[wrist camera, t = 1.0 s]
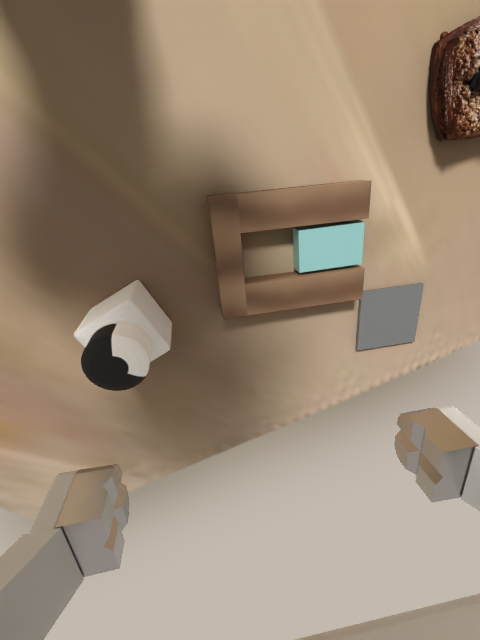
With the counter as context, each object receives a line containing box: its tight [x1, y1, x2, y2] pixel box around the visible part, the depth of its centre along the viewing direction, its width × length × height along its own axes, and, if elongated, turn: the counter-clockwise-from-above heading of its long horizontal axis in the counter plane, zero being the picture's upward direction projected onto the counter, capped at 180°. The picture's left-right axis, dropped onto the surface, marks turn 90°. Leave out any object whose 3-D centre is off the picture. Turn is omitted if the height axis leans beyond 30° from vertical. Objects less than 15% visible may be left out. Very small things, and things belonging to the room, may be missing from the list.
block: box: [293, 220, 364, 273], centre depth 40 cm, size 5×8×2 cm, turn 96°
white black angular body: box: [74, 280, 172, 391], centre depth 35 cm, size 7×7×12 cm
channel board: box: [207, 180, 371, 319], centre depth 39 cm, size 14×18×2 cm
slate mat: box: [356, 283, 424, 351], centre depth 46 cm, size 9×9×1 cm
